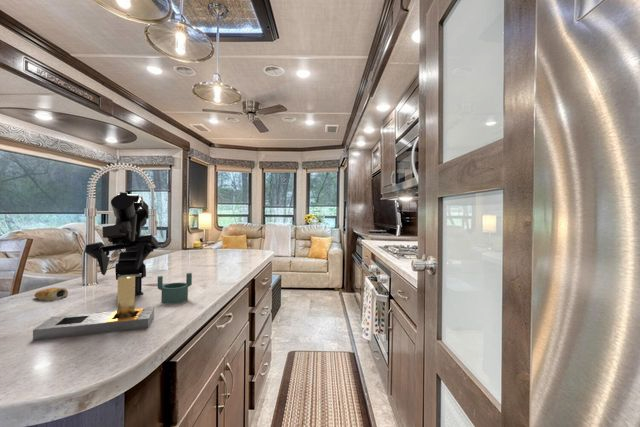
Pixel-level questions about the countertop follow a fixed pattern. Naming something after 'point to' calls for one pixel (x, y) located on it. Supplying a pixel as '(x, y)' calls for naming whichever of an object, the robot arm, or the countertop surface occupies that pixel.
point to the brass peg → (126, 297)
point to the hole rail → (92, 324)
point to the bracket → (174, 290)
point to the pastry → (51, 294)
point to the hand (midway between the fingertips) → (120, 271)
